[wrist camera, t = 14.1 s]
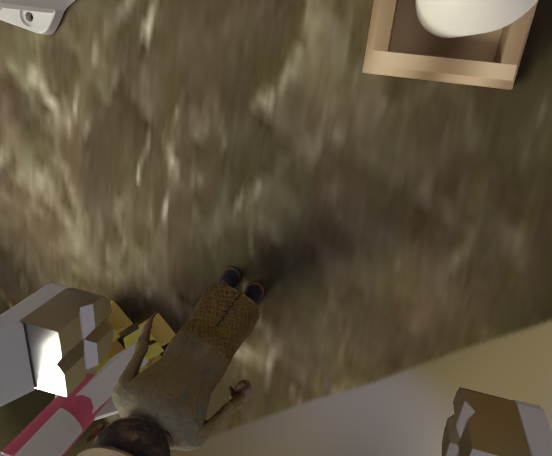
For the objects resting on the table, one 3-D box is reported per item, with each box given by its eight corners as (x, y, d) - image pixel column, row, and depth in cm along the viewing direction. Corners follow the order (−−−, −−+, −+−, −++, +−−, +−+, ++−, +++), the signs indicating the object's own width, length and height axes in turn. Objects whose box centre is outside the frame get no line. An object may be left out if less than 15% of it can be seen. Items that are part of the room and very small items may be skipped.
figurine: (179, 299, 50) (-80, 584, 24) (213, 238, 46) (-57, 503, 20) (261, 353, 50) (92, 704, 23) (303, 297, 46) (153, 649, 19)
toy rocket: (136, 393, 59) (-94, 686, 32) (77, 324, 57) (-220, 573, 30) (198, 361, 53) (-14, 679, 27) (135, 284, 52) (-160, 542, 25)
